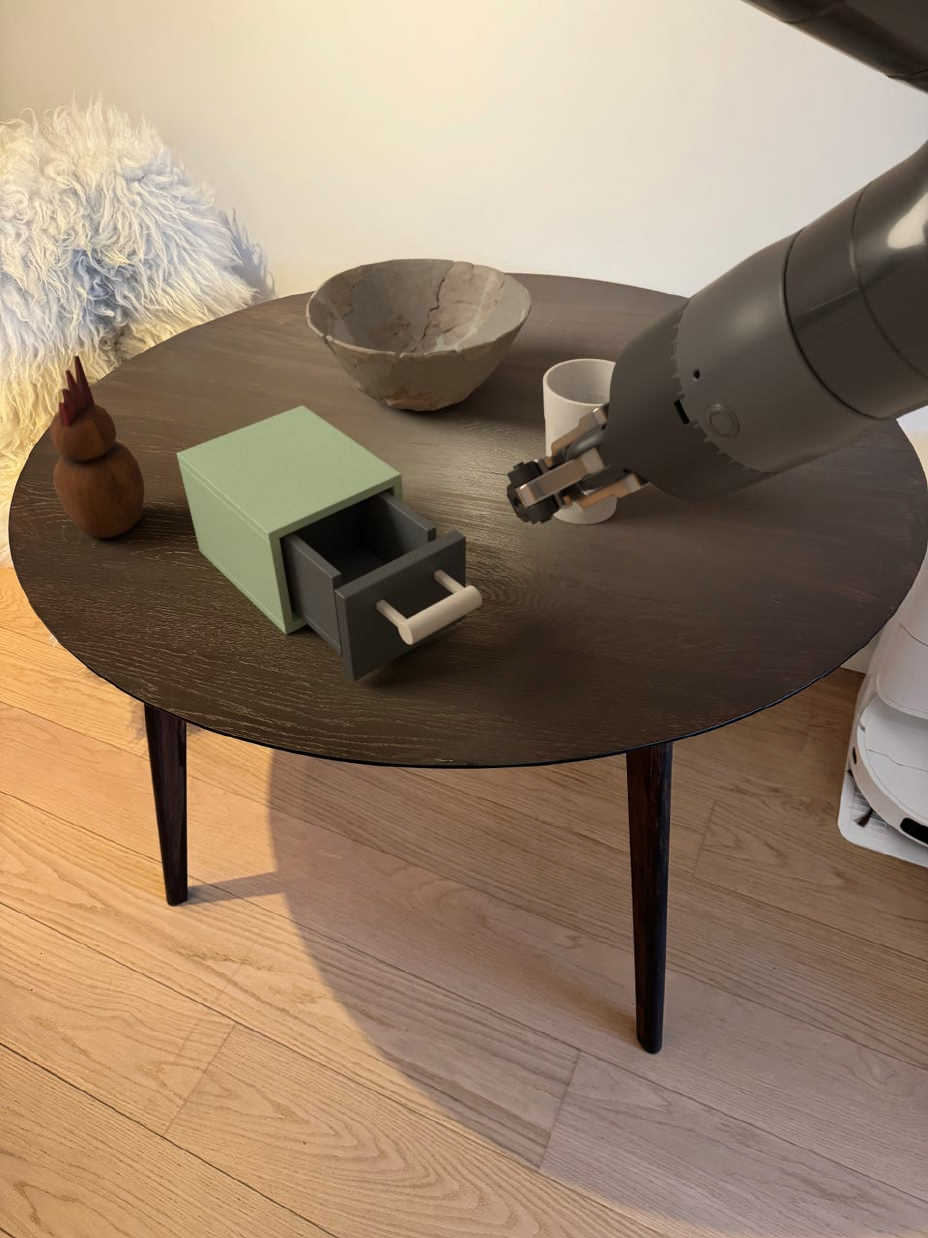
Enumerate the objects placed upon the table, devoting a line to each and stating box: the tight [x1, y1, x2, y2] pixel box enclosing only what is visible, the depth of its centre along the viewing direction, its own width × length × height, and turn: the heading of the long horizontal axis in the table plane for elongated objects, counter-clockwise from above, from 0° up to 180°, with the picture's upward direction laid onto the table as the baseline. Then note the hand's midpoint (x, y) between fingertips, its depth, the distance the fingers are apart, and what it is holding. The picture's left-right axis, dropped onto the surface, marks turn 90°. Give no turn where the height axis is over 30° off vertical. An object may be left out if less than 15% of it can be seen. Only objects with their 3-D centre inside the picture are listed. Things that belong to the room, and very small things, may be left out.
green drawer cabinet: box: [176, 405, 404, 636], centre depth 75 cm, size 14×12×10 cm
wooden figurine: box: [49, 355, 145, 539], centre depth 77 cm, size 7×6×15 cm
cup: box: [542, 358, 618, 525], centre depth 80 cm, size 8×8×12 cm
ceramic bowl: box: [305, 258, 533, 412], centre depth 96 cm, size 22×23×10 cm
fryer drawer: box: [279, 490, 483, 682], centre depth 68 cm, size 17×10×8 cm, turn 40°
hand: (523, 500), depth 50 cm, fingers closed
